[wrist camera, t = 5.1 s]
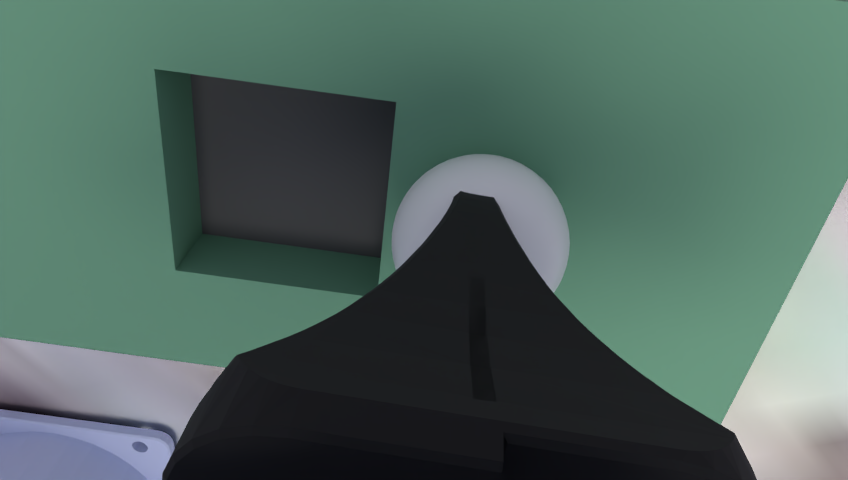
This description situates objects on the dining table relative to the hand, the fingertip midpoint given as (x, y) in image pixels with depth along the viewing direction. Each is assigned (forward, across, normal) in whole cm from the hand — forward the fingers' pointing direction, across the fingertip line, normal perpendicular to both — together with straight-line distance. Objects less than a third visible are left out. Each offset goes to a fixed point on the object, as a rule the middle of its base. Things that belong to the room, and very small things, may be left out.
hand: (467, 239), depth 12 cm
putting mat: (+4, +2, +1) cm, 5 cm away
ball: (+1, 0, 0) cm, 1 cm away
